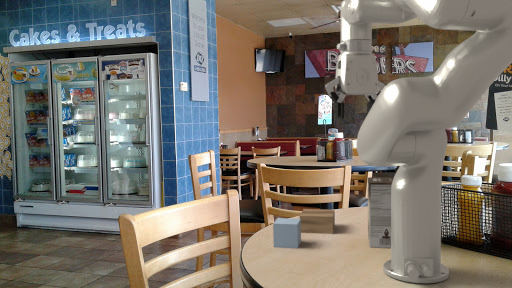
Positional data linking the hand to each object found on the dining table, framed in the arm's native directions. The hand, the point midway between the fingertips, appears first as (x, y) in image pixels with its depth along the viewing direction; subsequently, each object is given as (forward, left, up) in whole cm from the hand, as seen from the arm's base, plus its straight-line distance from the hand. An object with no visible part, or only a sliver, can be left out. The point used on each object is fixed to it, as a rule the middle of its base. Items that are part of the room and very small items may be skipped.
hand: (355, 118), depth 113 cm
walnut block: (+11, +11, -32) cm, 35 cm away
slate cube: (-5, +17, -32) cm, 36 cm away
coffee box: (0, -6, -32) cm, 32 cm away
